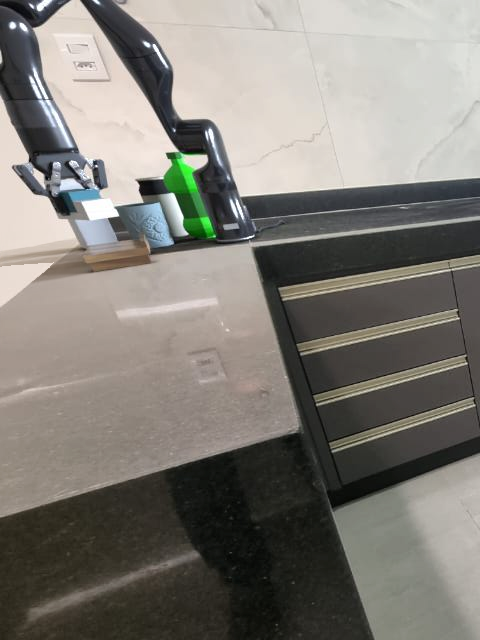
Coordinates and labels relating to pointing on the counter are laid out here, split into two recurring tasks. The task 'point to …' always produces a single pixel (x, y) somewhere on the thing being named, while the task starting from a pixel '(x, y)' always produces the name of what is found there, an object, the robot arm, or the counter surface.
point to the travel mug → (163, 202)
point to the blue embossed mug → (146, 222)
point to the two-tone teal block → (86, 205)
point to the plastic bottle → (187, 197)
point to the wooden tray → (118, 254)
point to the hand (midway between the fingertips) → (83, 212)
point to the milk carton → (89, 225)
